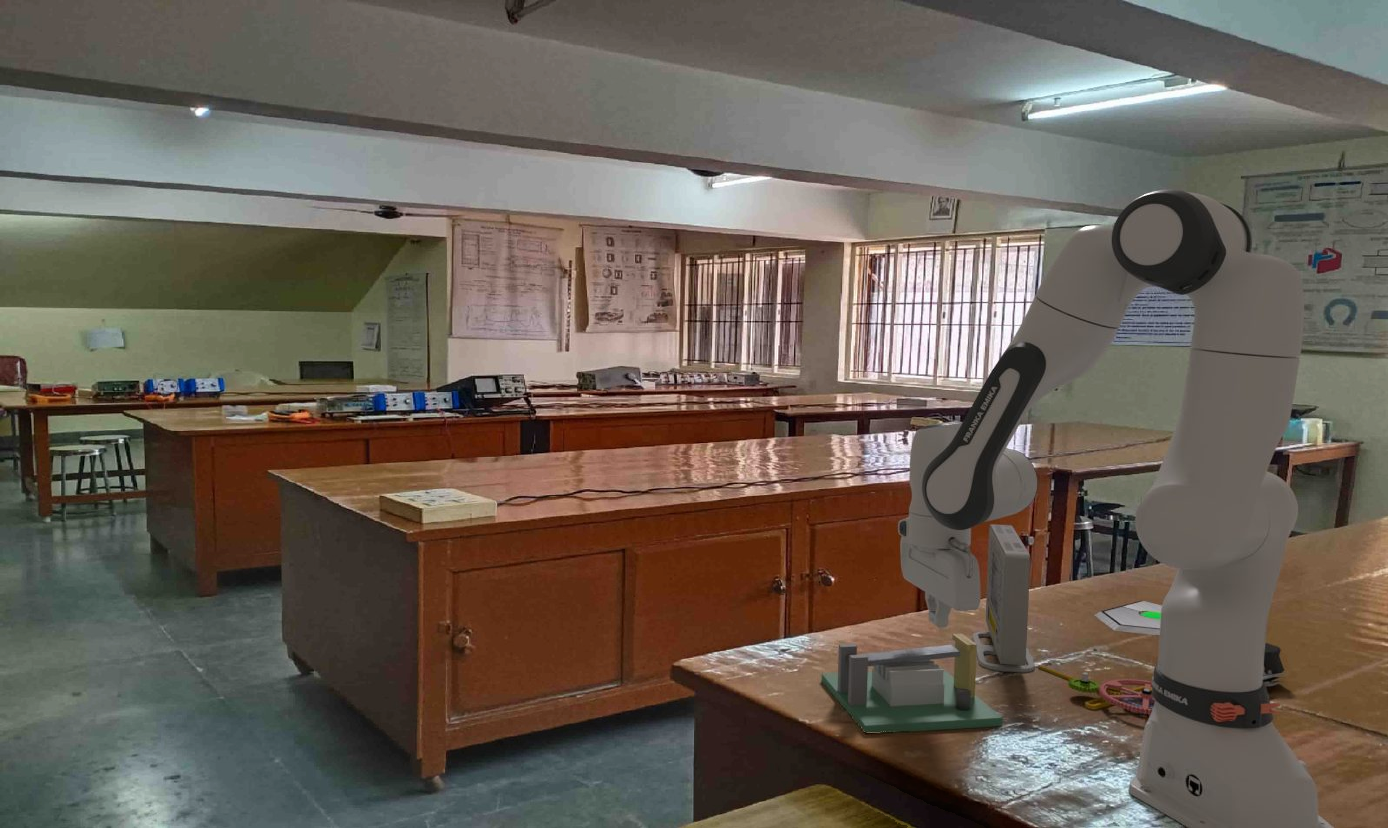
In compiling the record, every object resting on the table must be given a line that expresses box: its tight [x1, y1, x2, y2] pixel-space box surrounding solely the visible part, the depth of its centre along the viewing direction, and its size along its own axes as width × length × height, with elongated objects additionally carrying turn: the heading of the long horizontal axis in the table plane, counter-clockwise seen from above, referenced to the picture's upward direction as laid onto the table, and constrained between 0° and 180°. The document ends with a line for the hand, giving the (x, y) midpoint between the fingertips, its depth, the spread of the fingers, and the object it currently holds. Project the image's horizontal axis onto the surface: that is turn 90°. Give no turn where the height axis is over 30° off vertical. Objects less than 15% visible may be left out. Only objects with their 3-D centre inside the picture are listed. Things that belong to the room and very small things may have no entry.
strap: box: [846, 644, 960, 667], centre depth 142 cm, size 3×16×1 cm, turn 100°
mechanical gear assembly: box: [1037, 665, 1155, 716], centre depth 145 cm, size 30×4×15 cm
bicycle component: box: [1262, 642, 1286, 688], centre depth 152 cm, size 12×7×15 cm
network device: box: [972, 524, 1036, 673], centre depth 164 cm, size 26×9×20 cm, turn 168°
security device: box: [1093, 600, 1162, 636], centre depth 184 cm, size 17×22×2 cm
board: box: [821, 633, 1003, 733], centre depth 142 cm, size 20×20×9 cm
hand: (938, 624), depth 142 cm, fingers closed
